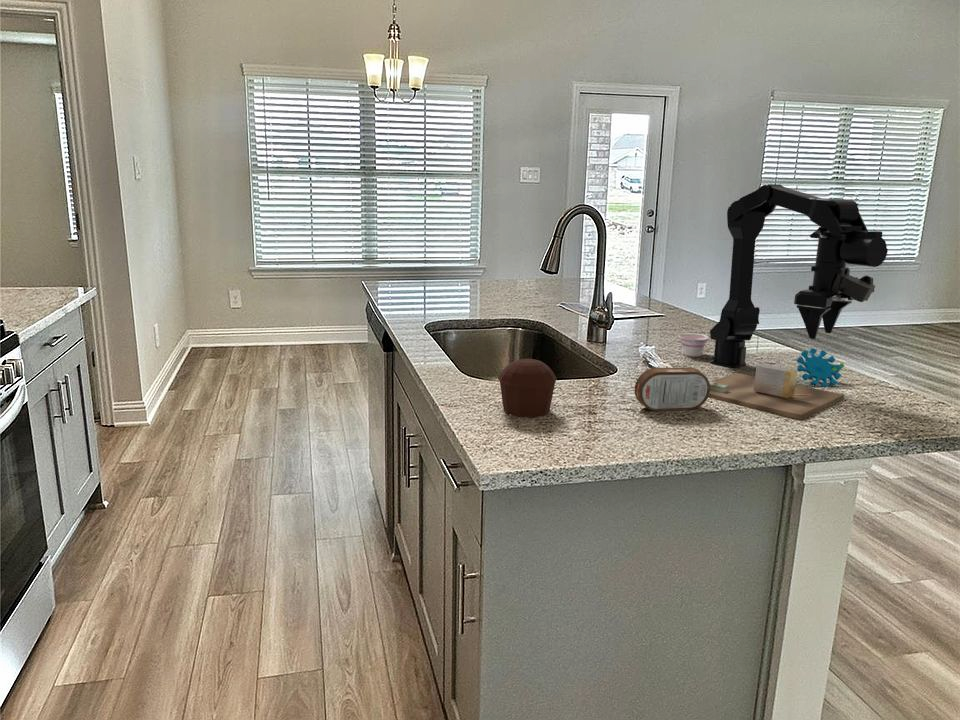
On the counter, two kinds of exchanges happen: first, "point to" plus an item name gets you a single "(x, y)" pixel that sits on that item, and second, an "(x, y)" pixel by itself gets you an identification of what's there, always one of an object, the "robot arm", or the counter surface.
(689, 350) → the pink white bowl
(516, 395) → the muffin
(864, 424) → the counter surface
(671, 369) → the tin
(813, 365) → the gear
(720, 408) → the counter surface
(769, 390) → the white box tan top
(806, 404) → the base
